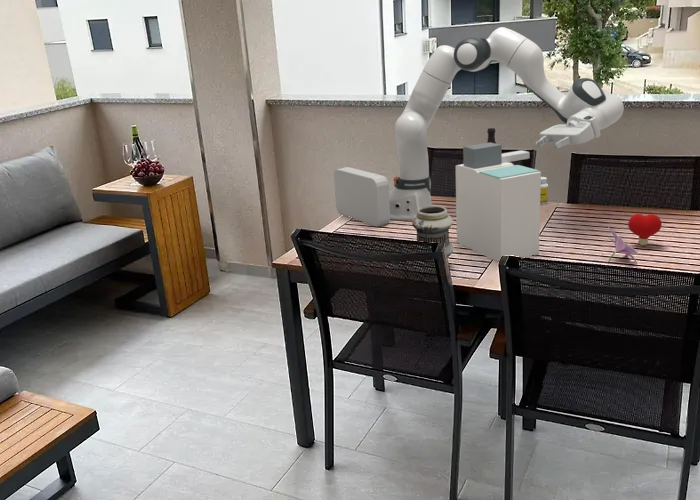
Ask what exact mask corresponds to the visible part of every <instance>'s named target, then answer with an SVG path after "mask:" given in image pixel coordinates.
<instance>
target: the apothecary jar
mask: <svg viewBox="0 0 700 500" xmlns="http://www.w3.org/2000/svg"><path fill="white" fill-rule="evenodd" d="M453 222H454V220H453V218H452V216H450V214H448V210H447V208H446V207H445V206H442V205H433V204H432V206H424V207H421V208H419V209H418V212H417V216H415V217H414V219H413V220H412V223H411V224H412V227H413V228H414V229H415V231H416V242H417V241H423V242H439V243H444V244H445V247H446V254H447V258H449V257H450V256H451V255H452V254H453V253H454V251H455V250H454V244H453V243H452V242H451V241H450V235H449V229H450V228H451V227H452V225H453ZM449 267H450V268H451V264H450V263H449Z"/></svg>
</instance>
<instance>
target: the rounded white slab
mask: <svg viewBox="0 0 700 500" xmlns="http://www.w3.org/2000/svg"><path fill="white" fill-rule="evenodd" d="M333 182H334V193H335V208H336V211H337V213H338V214H339V215H342V216H344V215H345V216H344V217H347V216H350V217H352V218H354V219H353V220H355V219H357V220H356V221H358V220H359V221H358V222H360V221H362V222H361V223H363V222H365V223H364V224H366V223H367V224H366V225H369V224H370V225H369V226H371V225H374V226H376V227H381V226H385V225H388V224H389V223H390V221H391V219H390V206H389V192H390V189H389V180H388V178H387V177H386V176H384V175H382V174H377V173H373V172H369V171H365V170H362V169H357V168H355V167H354V168H353V167H349V166H345V167H341V168H337V169H334V172H333ZM352 218H351V219H352ZM374 226H373V227H374ZM376 227H375V228H376Z"/></svg>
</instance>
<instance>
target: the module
mask: <svg viewBox="0 0 700 500" xmlns="http://www.w3.org/2000/svg"><path fill="white" fill-rule="evenodd" d="M462 147H463V148H462V152H463V156H462V157H463V164H464V166H466V167H470V168H473V169H477V168H482V167H488V166H494V165H499V164H502V163H506V162H509V163H512V162H516V161H522V160H528V159H530V154H531V153H530V151H527V150H521V149H520V150H517V151H516V150H515V151H509V152H504V153H502V150H503V149H502V144H499V143H496V144H495V143H491V142H490V143H487V142H484V143H478V144H471V145H466V146H462Z"/></svg>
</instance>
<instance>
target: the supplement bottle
mask: <svg viewBox="0 0 700 500" xmlns="http://www.w3.org/2000/svg"><path fill="white" fill-rule="evenodd" d="M547 180H548V178H547V177H545V176H541V191H540V205H546V204H548V202H549V184H548V183H547V182H548V181H547Z"/></svg>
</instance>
